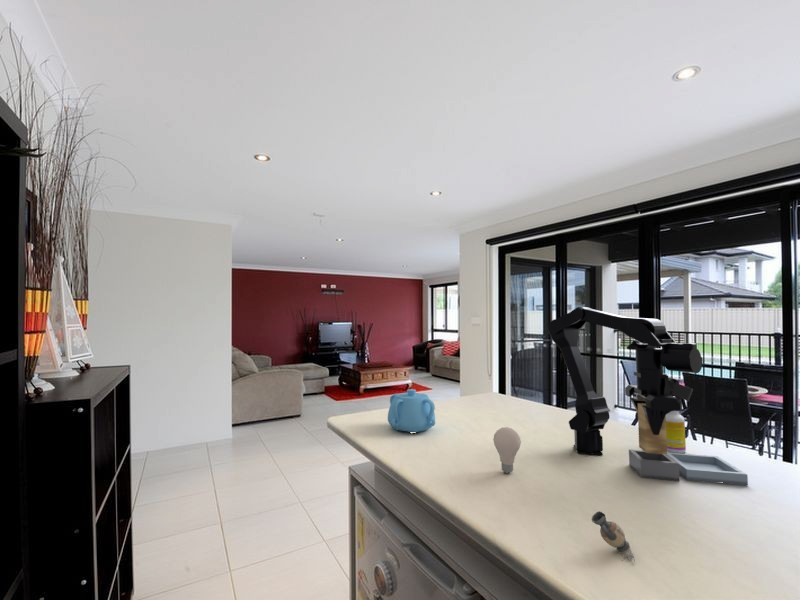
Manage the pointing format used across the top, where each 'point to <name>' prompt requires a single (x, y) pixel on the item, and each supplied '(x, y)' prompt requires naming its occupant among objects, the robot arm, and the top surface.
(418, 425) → the decorative pot
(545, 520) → the top surface
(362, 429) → the top surface
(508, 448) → the light bulb
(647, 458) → the socket
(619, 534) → the vase
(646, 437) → the peg
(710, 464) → the tray
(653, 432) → the robot arm
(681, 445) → the supplement bottle
